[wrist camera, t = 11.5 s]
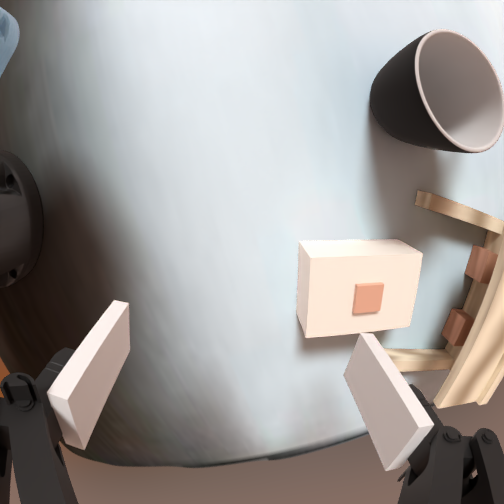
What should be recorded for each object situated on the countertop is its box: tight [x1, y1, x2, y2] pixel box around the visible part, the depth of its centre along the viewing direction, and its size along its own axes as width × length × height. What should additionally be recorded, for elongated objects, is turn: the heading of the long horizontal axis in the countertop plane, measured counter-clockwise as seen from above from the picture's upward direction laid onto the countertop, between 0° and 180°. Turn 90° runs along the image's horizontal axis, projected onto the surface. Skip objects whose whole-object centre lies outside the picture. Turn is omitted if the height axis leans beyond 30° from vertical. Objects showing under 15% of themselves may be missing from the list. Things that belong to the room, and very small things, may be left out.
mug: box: [370, 29, 504, 153], centre depth 18 cm, size 12×9×10 cm
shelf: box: [383, 190, 504, 408], centre depth 24 cm, size 14×19×10 cm
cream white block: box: [296, 239, 423, 338], centre depth 26 cm, size 10×7×6 cm
